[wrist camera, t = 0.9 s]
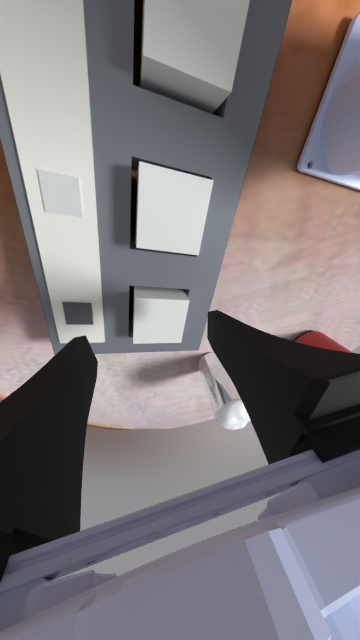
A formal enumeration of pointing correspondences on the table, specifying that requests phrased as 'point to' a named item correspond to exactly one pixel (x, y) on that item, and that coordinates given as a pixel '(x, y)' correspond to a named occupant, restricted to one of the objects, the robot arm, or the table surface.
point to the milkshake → (222, 394)
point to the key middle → (170, 209)
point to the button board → (116, 160)
